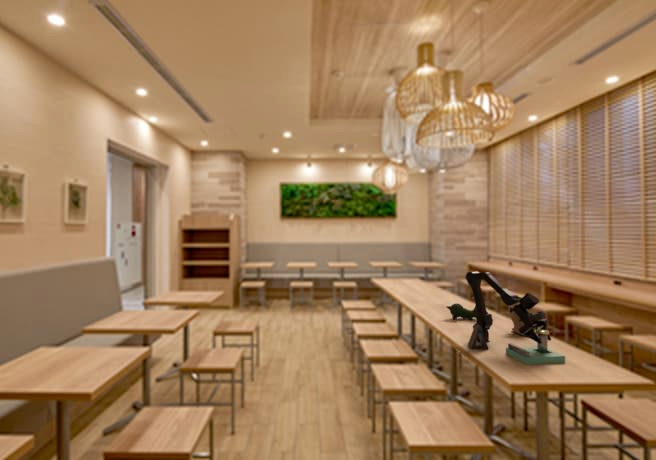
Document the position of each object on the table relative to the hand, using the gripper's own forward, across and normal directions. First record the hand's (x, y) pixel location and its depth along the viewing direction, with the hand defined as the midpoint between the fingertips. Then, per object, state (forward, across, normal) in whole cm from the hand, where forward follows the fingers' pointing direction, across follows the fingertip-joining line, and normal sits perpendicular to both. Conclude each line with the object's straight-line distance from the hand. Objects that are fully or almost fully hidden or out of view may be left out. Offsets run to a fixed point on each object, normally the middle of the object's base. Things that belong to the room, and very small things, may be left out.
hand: (545, 341), depth 188 cm
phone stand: (-14, -13, +26) cm, 33 cm away
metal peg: (+5, 0, +7) cm, 8 cm away
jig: (+3, -4, +8) cm, 10 cm away
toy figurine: (-46, +36, +58) cm, 83 cm away
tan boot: (-16, +33, +28) cm, 46 cm away
